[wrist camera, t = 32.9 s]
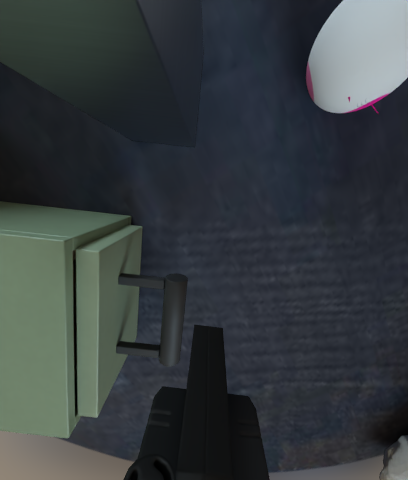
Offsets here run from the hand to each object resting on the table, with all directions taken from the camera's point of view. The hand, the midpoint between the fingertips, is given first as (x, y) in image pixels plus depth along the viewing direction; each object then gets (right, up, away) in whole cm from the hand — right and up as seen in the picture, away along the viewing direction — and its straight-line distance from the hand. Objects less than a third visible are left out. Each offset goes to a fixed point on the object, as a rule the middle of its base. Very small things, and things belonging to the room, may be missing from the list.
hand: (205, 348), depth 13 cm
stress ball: (+10, +18, +5) cm, 21 cm away
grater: (-3, +17, +5) cm, 17 cm away
